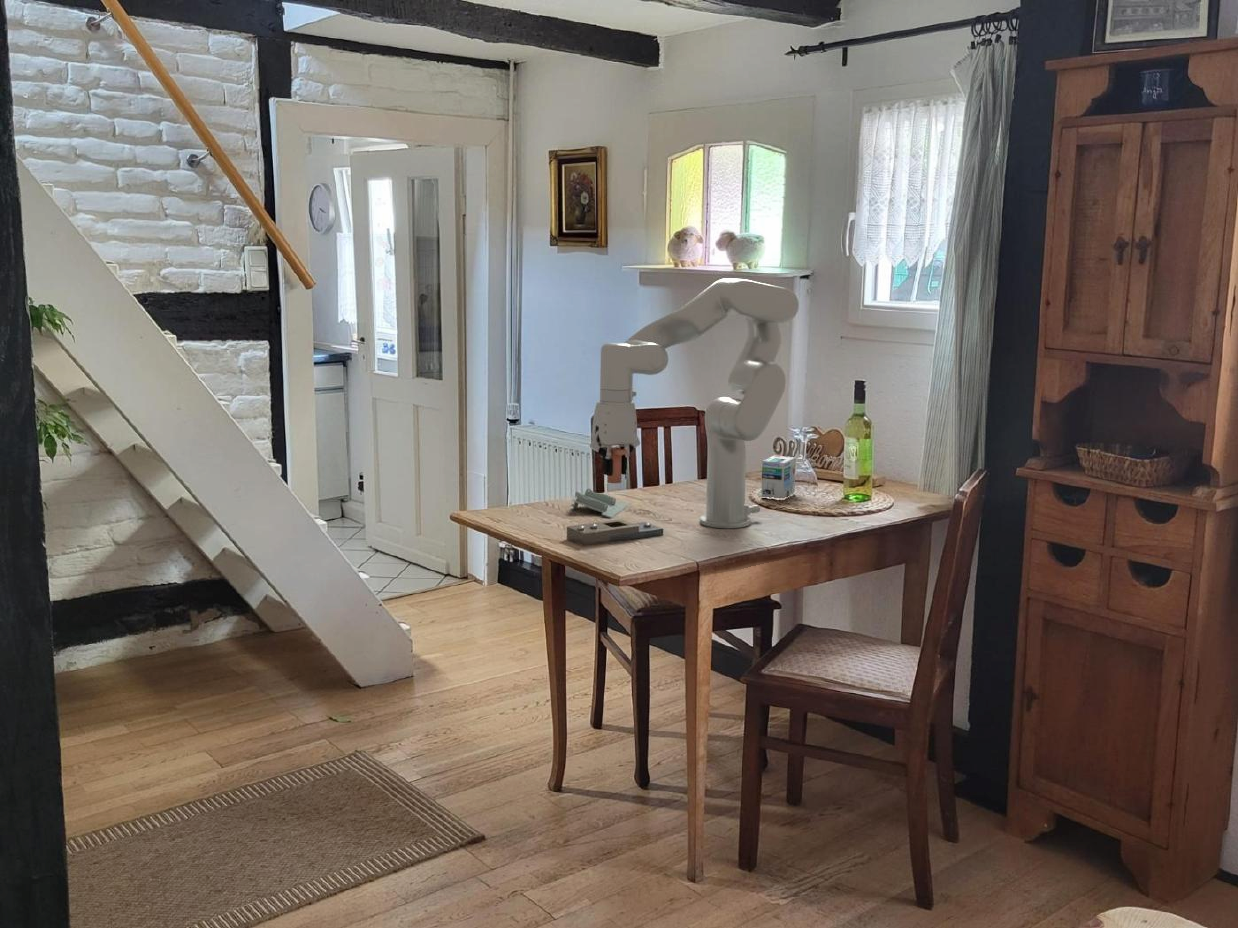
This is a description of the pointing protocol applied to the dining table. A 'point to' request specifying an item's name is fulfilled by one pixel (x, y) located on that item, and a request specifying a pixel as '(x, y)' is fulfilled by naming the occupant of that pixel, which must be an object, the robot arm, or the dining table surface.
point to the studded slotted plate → (610, 532)
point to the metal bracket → (599, 503)
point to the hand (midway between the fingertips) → (614, 473)
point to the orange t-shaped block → (616, 464)
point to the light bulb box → (778, 476)
